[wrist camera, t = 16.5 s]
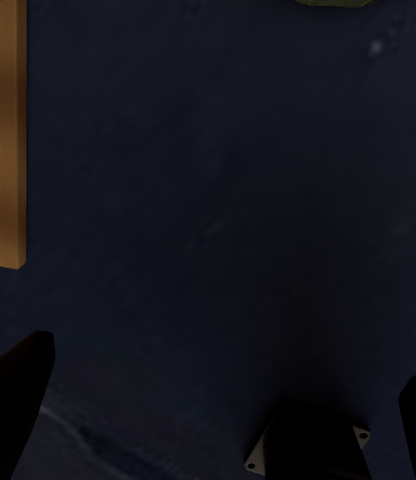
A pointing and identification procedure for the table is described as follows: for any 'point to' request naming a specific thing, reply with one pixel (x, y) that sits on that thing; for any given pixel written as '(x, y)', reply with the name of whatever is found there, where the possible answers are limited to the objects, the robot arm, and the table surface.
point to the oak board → (13, 132)
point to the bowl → (338, 3)
